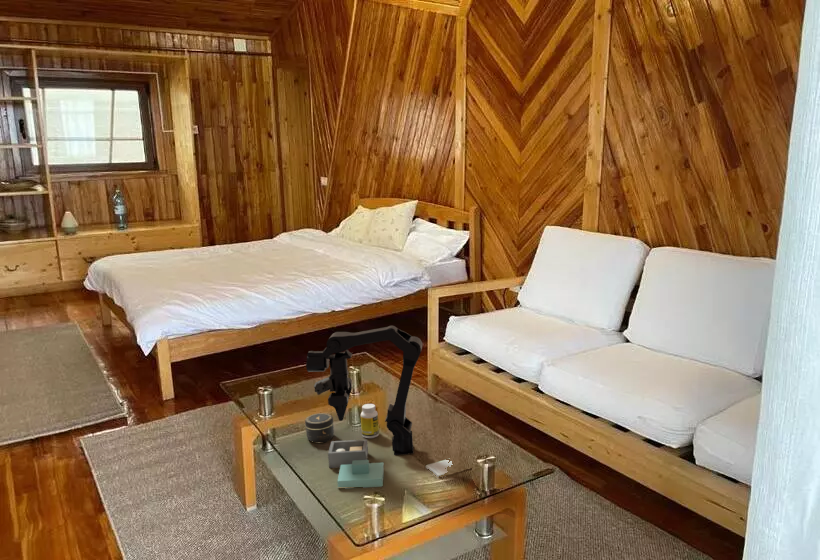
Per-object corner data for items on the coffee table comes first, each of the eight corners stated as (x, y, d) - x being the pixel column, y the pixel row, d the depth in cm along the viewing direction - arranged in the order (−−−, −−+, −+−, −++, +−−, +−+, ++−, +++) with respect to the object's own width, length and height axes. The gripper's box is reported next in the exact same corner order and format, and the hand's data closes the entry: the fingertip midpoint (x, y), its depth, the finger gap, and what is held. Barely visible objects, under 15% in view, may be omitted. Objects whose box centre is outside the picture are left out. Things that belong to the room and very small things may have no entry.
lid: (383, 469, 194) (382, 453, 193) (382, 486, 183) (381, 469, 183) (341, 472, 194) (340, 455, 193) (337, 488, 183) (336, 471, 182)
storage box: (368, 453, 206) (367, 439, 205) (366, 465, 197) (365, 451, 196) (332, 455, 206) (331, 441, 205) (329, 467, 197) (328, 453, 196)
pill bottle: (376, 439, 216) (374, 409, 215) (359, 438, 218) (357, 409, 216) (381, 431, 222) (379, 403, 220) (364, 431, 224) (362, 402, 222)
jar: (312, 446, 213) (310, 426, 212) (302, 436, 222) (300, 416, 221) (338, 439, 218) (337, 419, 217) (328, 429, 227) (326, 410, 225)
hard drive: (459, 455, 199) (425, 464, 193) (472, 465, 192) (438, 475, 186) (459, 459, 199) (425, 469, 194) (473, 469, 192) (438, 480, 186)
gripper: (318, 363, 212) (322, 406, 215) (310, 381, 194) (314, 427, 197) (350, 361, 212) (353, 404, 215) (345, 379, 194) (349, 425, 197)
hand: (342, 415), depth 206 cm, fingers open, 9 cm apart
